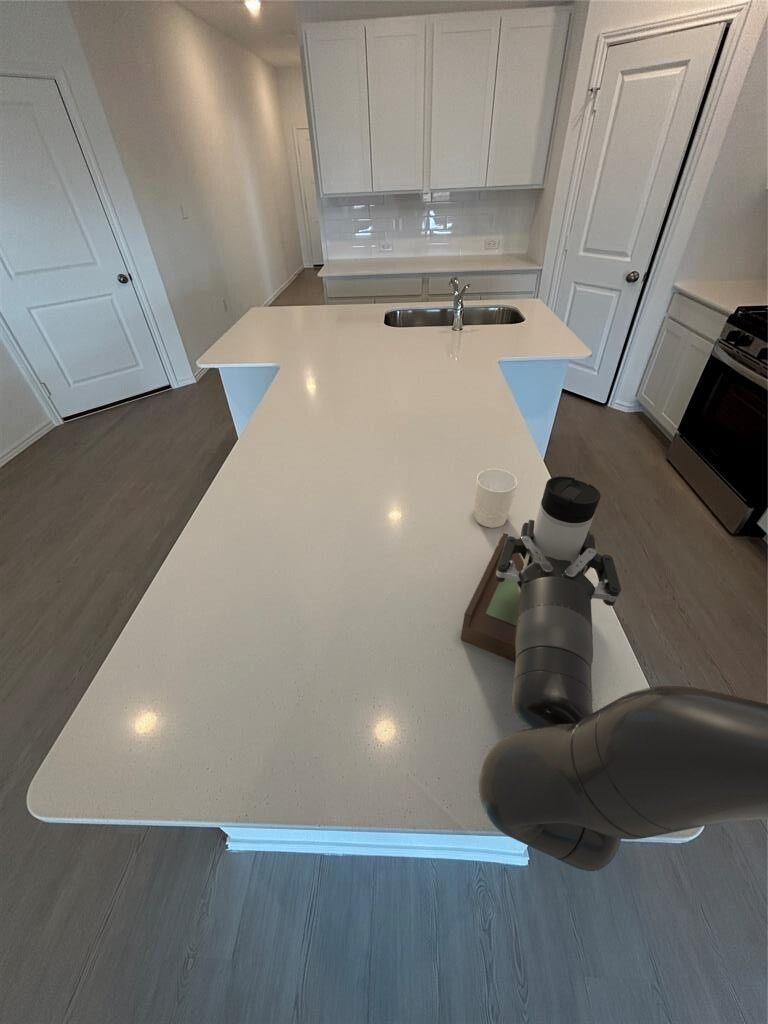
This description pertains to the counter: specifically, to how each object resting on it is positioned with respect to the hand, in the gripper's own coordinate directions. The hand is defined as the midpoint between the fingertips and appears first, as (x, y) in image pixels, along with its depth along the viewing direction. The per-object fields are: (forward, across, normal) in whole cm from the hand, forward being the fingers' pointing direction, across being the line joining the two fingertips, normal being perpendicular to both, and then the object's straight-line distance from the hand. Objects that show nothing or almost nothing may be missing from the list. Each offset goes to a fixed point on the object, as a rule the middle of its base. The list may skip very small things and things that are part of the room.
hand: (556, 529), depth 59 cm
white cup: (+26, +9, +22) cm, 35 cm away
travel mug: (-2, 0, +11) cm, 11 cm away
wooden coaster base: (+3, +2, +22) cm, 22 cm away
